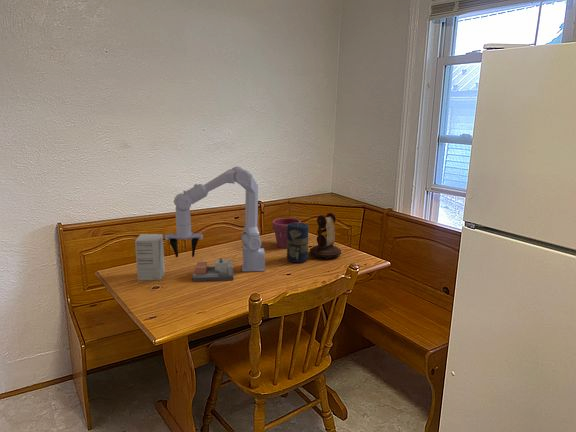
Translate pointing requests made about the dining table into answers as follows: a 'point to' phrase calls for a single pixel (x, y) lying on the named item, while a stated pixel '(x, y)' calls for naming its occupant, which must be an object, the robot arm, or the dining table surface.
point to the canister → (297, 242)
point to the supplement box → (149, 256)
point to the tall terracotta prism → (201, 268)
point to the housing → (221, 266)
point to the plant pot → (282, 230)
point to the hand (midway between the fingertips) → (185, 256)
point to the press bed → (212, 276)
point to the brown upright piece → (326, 238)
